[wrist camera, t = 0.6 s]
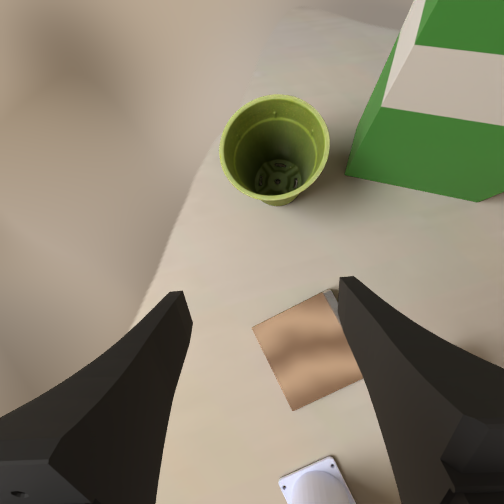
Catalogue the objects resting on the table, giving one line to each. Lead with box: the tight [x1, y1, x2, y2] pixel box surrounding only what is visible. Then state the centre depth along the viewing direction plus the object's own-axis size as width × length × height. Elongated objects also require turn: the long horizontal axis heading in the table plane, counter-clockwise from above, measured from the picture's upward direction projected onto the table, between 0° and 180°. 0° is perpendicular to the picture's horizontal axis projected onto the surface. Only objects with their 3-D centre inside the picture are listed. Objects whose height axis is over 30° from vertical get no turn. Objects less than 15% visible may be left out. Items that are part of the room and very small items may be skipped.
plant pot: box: [219, 95, 330, 206], centre depth 33 cm, size 12×12×11 cm
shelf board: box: [252, 289, 363, 411], centre depth 34 cm, size 12×12×2 cm
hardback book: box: [345, 0, 504, 202], centre depth 24 cm, size 18×7×24 cm, turn 74°
